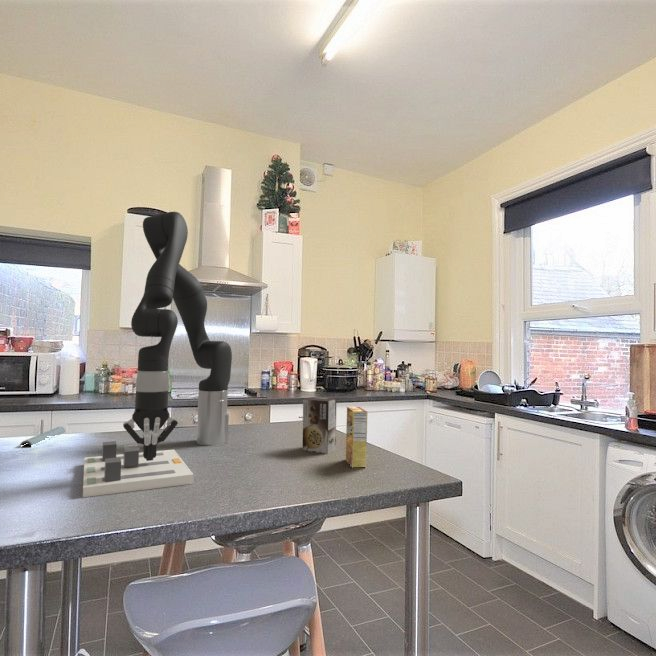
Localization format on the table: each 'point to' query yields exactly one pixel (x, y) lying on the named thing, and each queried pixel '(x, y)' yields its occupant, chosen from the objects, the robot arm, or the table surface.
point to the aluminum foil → (44, 436)
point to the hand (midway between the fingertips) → (149, 459)
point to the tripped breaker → (131, 455)
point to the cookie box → (319, 424)
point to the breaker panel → (132, 472)
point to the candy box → (356, 436)
